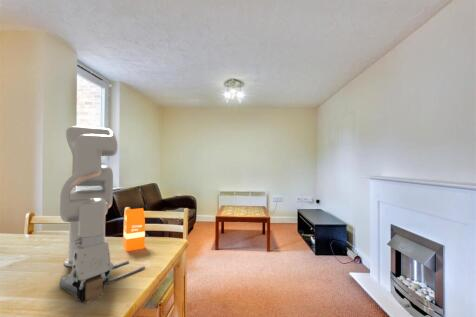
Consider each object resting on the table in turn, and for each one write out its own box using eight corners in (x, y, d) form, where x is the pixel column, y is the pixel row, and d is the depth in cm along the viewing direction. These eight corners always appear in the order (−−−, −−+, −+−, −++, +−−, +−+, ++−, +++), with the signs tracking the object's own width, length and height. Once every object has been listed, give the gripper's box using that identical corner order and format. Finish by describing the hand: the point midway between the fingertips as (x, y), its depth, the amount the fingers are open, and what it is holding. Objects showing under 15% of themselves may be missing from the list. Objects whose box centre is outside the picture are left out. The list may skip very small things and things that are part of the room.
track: (60, 286, 87) (60, 278, 87) (127, 262, 109) (127, 255, 109) (76, 296, 80) (76, 287, 80) (144, 268, 102) (144, 261, 102)
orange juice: (144, 248, 127) (145, 209, 128) (126, 251, 122) (126, 210, 123) (141, 244, 134) (141, 207, 134) (123, 247, 129) (124, 208, 129)
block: (78, 298, 80) (79, 279, 80) (94, 291, 84) (94, 273, 84) (86, 303, 77) (86, 283, 77) (102, 296, 81) (102, 277, 81)
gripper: (68, 249, 72) (66, 313, 71) (122, 235, 86) (122, 288, 85) (56, 244, 76) (55, 305, 75) (110, 232, 90) (109, 282, 89)
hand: (90, 295), depth 80 cm, fingers closed on block, 5 cm apart
